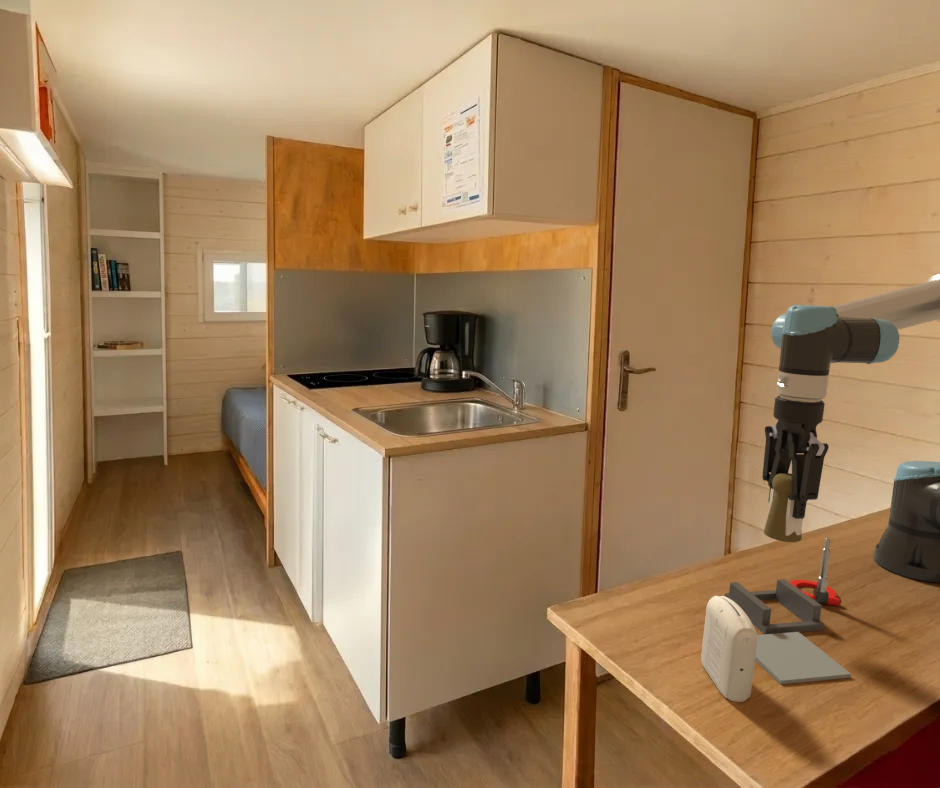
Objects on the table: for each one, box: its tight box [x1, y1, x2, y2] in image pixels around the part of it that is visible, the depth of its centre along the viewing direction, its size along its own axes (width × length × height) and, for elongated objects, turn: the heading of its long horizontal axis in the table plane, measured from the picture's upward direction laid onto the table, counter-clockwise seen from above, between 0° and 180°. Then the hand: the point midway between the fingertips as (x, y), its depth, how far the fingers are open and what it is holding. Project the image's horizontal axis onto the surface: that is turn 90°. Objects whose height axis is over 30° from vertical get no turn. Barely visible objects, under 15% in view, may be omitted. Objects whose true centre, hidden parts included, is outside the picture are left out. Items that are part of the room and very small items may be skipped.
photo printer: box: [700, 595, 758, 703], centre depth 97 cm, size 10×4×12 cm, turn 3°
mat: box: [755, 632, 852, 685], centre depth 104 cm, size 12×12×1 cm
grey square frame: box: [724, 578, 825, 635], centre depth 117 cm, size 11×12×4 cm
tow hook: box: [788, 537, 841, 607], centre depth 125 cm, size 8×13×9 cm
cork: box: [763, 472, 803, 543], centre depth 113 cm, size 6×6×11 cm
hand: (783, 528), depth 114 cm, fingers closed on cork, 4 cm apart
